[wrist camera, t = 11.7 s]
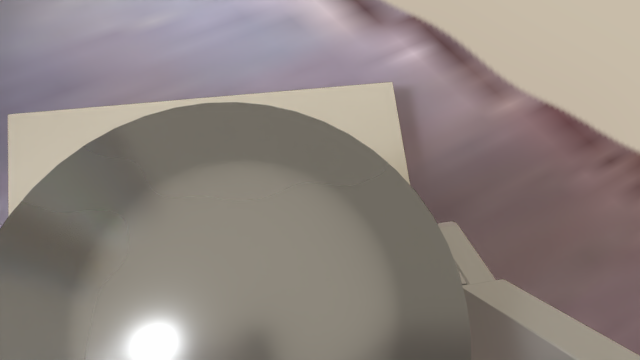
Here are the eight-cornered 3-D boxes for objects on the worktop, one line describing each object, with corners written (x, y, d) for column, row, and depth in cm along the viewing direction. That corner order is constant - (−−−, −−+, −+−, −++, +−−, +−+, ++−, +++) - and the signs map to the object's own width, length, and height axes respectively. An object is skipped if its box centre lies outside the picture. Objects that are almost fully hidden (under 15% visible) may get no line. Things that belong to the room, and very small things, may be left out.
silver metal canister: (174, 397, 12) (-56, 714, 4) (161, 211, 13) (-47, 125, 5) (357, 365, 13) (517, 571, 4) (333, 190, 14) (425, 83, 5)
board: (33, 540, 13) (11, 567, 12) (27, 125, 16) (7, 114, 15) (445, 454, 15) (459, 470, 14) (384, 93, 18) (392, 81, 16)
